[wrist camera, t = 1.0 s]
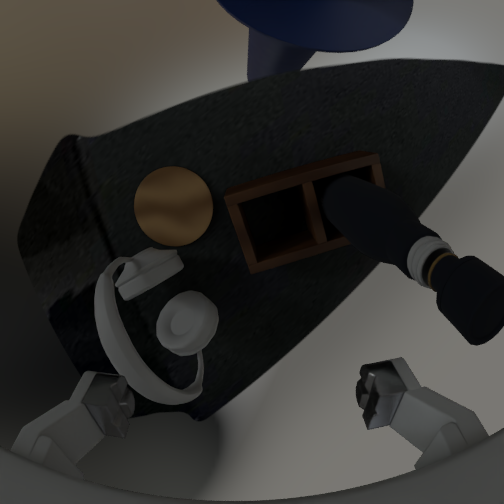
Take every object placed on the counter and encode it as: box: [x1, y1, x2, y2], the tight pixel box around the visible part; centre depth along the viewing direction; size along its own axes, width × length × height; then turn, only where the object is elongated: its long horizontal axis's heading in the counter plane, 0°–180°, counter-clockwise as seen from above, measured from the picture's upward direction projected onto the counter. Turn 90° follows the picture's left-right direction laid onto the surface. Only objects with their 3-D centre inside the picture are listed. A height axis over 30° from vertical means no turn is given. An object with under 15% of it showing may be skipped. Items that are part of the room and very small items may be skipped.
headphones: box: [95, 247, 219, 405], centre depth 34 cm, size 19×9×20 cm, turn 29°
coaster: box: [134, 166, 213, 246], centre depth 39 cm, size 11×11×1 cm
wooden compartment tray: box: [224, 151, 385, 274], centre depth 36 cm, size 10×19×6 cm, turn 108°
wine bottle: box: [314, 172, 504, 345], centre depth 25 cm, size 6×6×30 cm
